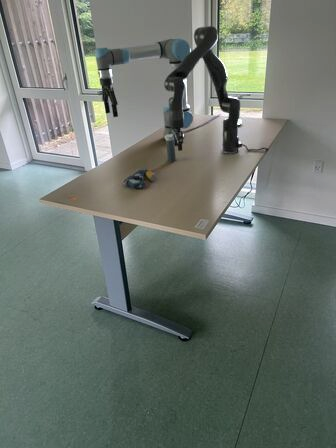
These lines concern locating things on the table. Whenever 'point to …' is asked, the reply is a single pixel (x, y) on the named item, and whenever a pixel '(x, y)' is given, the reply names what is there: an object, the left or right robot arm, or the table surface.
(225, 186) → the table surface
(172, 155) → the bottle
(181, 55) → the left robot arm
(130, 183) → the spray gun
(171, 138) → the lid
